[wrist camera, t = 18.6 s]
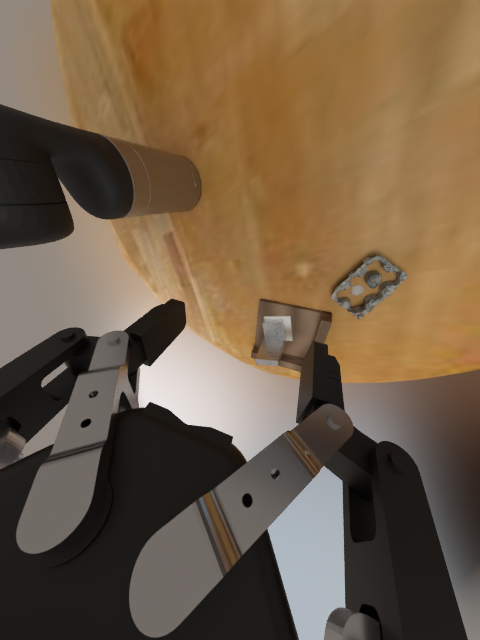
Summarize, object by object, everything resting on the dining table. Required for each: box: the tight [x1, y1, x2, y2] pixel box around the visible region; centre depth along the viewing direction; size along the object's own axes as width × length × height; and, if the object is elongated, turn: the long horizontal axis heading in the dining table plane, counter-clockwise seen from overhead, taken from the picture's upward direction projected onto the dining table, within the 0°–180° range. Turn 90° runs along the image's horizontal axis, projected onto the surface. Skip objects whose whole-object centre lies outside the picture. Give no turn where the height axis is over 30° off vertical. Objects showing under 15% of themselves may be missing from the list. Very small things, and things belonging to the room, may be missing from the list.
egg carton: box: [331, 255, 408, 319], centre depth 36 cm, size 11×8×4 cm
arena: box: [251, 299, 332, 372], centre depth 47 cm, size 16×16×4 cm
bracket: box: [255, 320, 286, 366], centre depth 44 cm, size 6×5×10 cm
